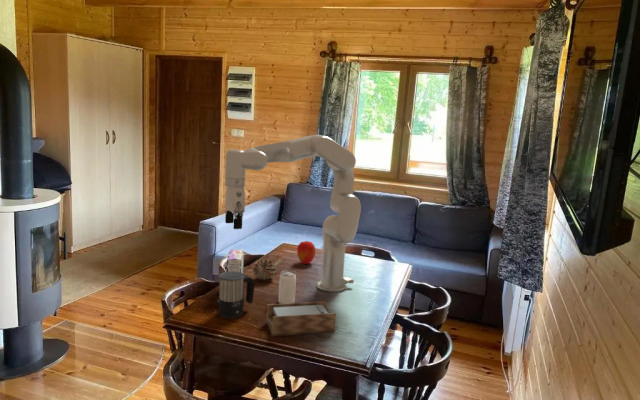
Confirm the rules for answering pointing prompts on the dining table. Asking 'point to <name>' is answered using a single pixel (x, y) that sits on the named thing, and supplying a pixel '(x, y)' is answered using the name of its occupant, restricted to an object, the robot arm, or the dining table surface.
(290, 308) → the cover plate
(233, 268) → the candy box
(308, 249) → the apple
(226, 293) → the milk frother
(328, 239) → the robot arm
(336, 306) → the dining table surface
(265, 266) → the pine cone
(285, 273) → the can
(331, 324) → the walnut box
